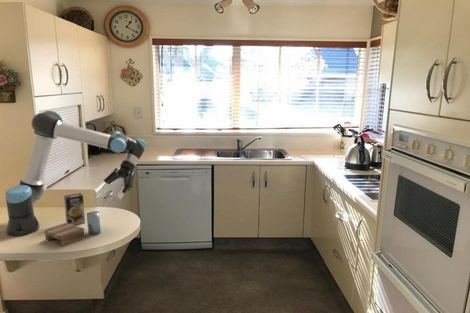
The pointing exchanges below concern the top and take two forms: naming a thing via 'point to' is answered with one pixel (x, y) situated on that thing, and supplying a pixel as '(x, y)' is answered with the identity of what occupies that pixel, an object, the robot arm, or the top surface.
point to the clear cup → (93, 223)
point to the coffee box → (74, 209)
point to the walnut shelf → (65, 233)
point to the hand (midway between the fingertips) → (110, 196)
